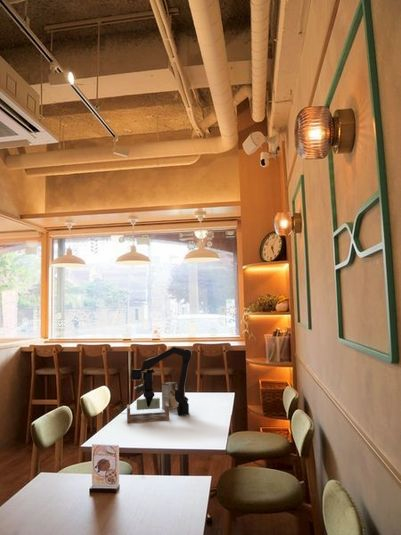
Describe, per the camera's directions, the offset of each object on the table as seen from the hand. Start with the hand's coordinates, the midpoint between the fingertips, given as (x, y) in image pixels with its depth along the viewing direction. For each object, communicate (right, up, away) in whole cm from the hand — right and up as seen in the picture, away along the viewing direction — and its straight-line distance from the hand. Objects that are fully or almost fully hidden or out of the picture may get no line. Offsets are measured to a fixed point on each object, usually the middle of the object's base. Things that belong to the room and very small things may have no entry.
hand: (148, 406), depth 259 cm
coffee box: (+12, -7, +17) cm, 22 cm away
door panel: (0, -2, 0) cm, 2 cm away
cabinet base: (+1, -4, -12) cm, 13 cm away
